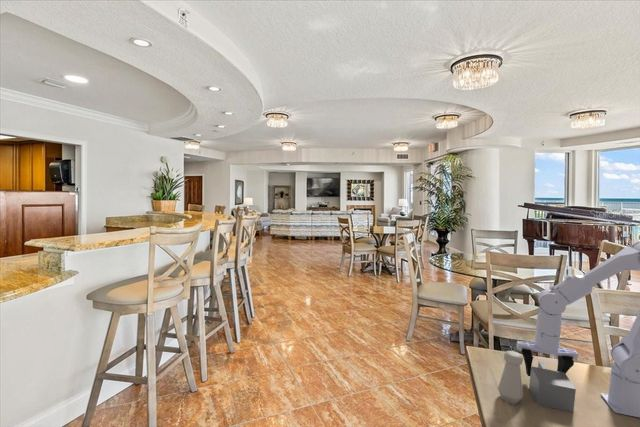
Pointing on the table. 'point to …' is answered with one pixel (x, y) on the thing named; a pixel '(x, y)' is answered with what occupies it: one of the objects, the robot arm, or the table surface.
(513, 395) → the salt shaker
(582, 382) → the table surface
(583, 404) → the table surface
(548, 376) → the grey block with fin
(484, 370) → the table surface
